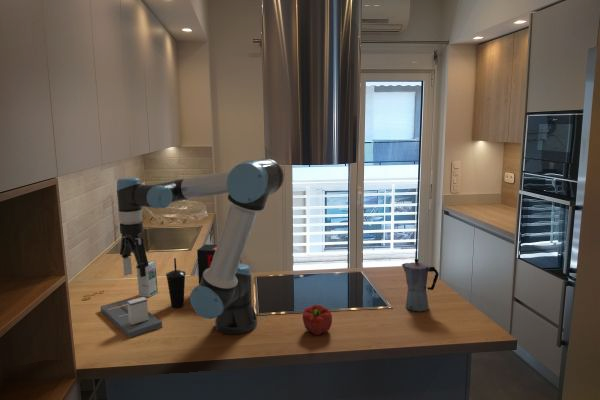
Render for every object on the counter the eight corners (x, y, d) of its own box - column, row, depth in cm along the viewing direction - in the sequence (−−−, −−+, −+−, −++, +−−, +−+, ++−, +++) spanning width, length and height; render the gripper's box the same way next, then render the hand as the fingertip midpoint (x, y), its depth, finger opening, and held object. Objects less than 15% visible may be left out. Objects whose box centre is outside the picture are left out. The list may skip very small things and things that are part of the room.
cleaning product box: (199, 294, 190) (197, 250, 186) (207, 287, 198) (205, 244, 195) (235, 296, 187) (234, 251, 183) (242, 289, 195) (240, 245, 192)
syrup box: (149, 297, 187) (147, 265, 184) (138, 296, 189) (135, 263, 186) (158, 292, 192) (156, 261, 190) (146, 291, 194) (144, 259, 191)
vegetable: (330, 341, 148) (330, 313, 146) (300, 338, 150) (299, 311, 148) (333, 326, 159) (333, 300, 157) (305, 324, 161) (305, 298, 159)
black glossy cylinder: (182, 310, 174) (179, 261, 170) (164, 308, 175) (161, 260, 172) (190, 302, 181) (188, 256, 178) (173, 301, 183) (170, 255, 179)
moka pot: (404, 299, 182) (405, 253, 179) (441, 308, 173) (443, 259, 170) (395, 307, 175) (396, 259, 171) (433, 316, 166) (435, 266, 162)
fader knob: (148, 319, 160) (147, 299, 159) (132, 324, 156) (130, 303, 155) (145, 317, 163) (143, 296, 161) (128, 322, 159) (127, 301, 157)
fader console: (161, 327, 159) (161, 321, 159) (128, 338, 152) (128, 332, 151) (131, 302, 182) (130, 297, 181) (100, 310, 174) (100, 305, 173)
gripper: (156, 226, 146) (159, 286, 150) (128, 214, 165) (132, 268, 168) (133, 230, 141) (138, 292, 145) (107, 217, 160) (112, 273, 164)
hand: (135, 279), depth 157 cm, fingers open, 13 cm apart
